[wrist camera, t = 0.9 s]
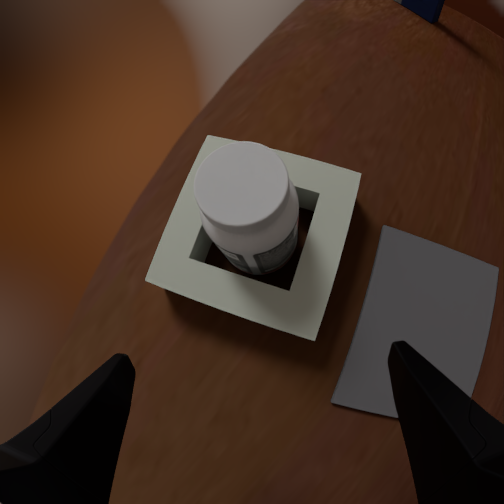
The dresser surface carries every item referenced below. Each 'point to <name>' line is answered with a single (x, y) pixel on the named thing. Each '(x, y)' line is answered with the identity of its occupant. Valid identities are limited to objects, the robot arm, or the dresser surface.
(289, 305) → the socket block
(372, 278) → the charcoal mat
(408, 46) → the dresser surface
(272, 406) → the dresser surface
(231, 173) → the pill bottle
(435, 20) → the cassette player
